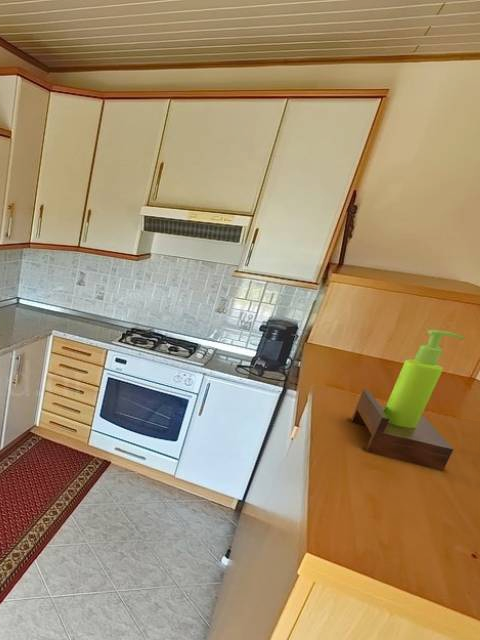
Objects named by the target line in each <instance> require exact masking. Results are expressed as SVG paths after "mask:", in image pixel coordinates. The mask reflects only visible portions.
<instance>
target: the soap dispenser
mask: <svg viewBox="0 0 480 640" xmlns="http://www.w3.org/2000/svg"><path fill="white" fill-rule="evenodd" d="M426 333H427V334H429V335H430V337H429V339H428V341H427V343H425V344H421V345H420V346H419V349H418V350H417V352H416V355H415V357H414V359H405V361H404V363H403V365H402V368H401V370H400V371H399V375H398V377H397V379H396V381H395V383H394V386H393V387H392V390H391V393H390V395H389V398H388V400H387V403H386V404H385V406H384V407H385V409H384V412H385V413H386V415H387V416H388V418H389V421H388V423H391V424H394V425H397V426H400V427H405V428H416V426H417V424H418V422H419V420H420V418H421V415H422V416H423V413H424V411H425V409H426V407H427V404H428V403H429V401H430V398H431V396H432V394H433V392H434V389H435V388H436V385H437V383H438V381H439V379H440V376H441V374H442V372H443V370H444V367H443V366H441V365H438V362H439V360H440V357H441V355H442V353H443V348H441V347H440V343H441V341H442V339H443V337H449V338H450V337H452V338H455V339H458V340H464V339H465V337H464V336H461V335H460V334H457V333H454V332H451V331H445V330H439V329H435V330H434V329H428V330H426Z"/></svg>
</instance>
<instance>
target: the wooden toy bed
mask: <svg viewBox="0 0 480 640" xmlns="http://www.w3.org/2000/svg"><path fill="white" fill-rule="evenodd" d="M385 407H386V406H381V404H379V402H378V401H377V399H376V398H375V397H374V395H373V394H372V392H371V391H370V390H366V389H363V390H362V392H361V394H360V397H359V399H358V402H357V404H356V406H355V408H354V411H353V414H352V416H351V419H350V421H351V423H354V424H359V425H362V426H366V428H367V429H368V431H369V433H370V435H371V436H370V438H369V440H368V442H367V444H366V447H365V451H366V453H369V454H374V455H378V456H382V457H386V458H390V459H394V460H398V461H402V462H404V463H405V462H406V463H410V464H413V465H418V466H422V467H426V468H430V469H433V470H437V471H441V472H443V471H444V470H445V468H446V466H447V464H448V463H449V460H450V457H451V456H452V454H453V452H454V450H455V449H454V448H453V446H451V445H450V443H448V441H447V440H446V439H445V438H444V437H443V436H442V435H441V434H440V433H439V432H438V430H437V429H436V428H435V427H434V425H432V424H431V423H430V422H429V420H428V419H427V418H426V417H425V416H424V415H423V414H422V415H421V418H420V420H419V422H418V424H417V426H416V428H405V427H400V426H397V425H394V424H391V423H388V421H389V418H388V416H387V415H386V413H385V412H384V409H385Z"/></svg>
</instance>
